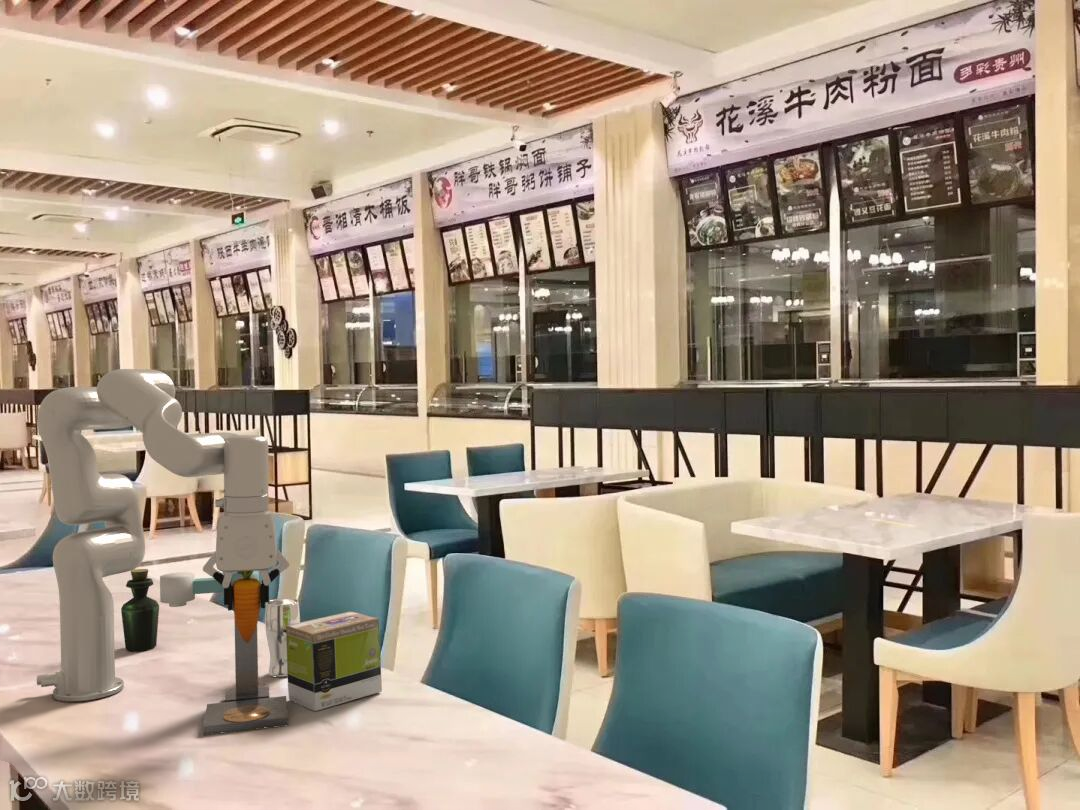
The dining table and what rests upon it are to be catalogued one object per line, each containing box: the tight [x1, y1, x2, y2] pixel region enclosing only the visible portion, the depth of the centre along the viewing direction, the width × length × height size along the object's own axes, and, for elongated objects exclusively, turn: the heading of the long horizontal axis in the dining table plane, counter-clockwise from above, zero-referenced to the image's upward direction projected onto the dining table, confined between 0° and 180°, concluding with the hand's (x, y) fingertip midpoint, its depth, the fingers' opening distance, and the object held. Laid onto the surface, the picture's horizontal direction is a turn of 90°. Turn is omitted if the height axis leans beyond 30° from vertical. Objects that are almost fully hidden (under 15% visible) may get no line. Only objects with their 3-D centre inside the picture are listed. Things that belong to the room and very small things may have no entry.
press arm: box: [159, 570, 260, 608], centre depth 174 cm, size 18×6×7 cm, turn 107°
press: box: [202, 615, 289, 735], centre depth 170 cm, size 14×19×20 cm
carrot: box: [232, 571, 262, 643], centre depth 165 cm, size 5×5×15 cm
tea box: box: [286, 611, 383, 712], centre depth 178 cm, size 15×10×15 cm, turn 134°
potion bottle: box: [120, 568, 160, 653], centre depth 215 cm, size 8×8×18 cm
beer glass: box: [264, 597, 301, 678], centre depth 194 cm, size 7×7×15 cm
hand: (246, 606), depth 165 cm, fingers closed on carrot, 4 cm apart
